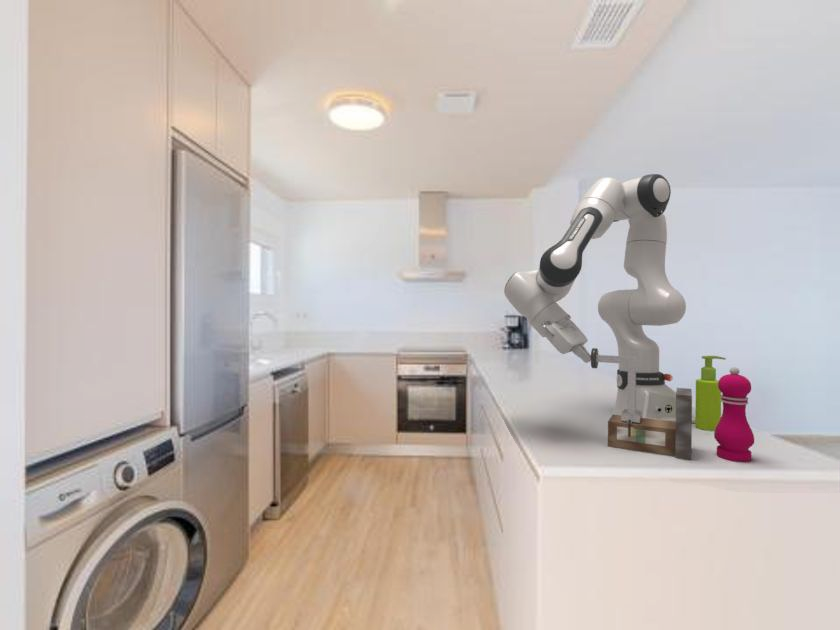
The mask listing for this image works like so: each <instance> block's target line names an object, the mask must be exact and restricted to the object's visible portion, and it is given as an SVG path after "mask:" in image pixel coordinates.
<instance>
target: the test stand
mask: <svg viewBox="0 0 840 630" xmlns="http://www.w3.org/2000/svg"><path fill="white" fill-rule="evenodd" d="M675 392H676V422H674V421H665V420H656V419H648V418H642V419H641V421H640V423H637V422H632V423H631V427H634V436H631V437H628V421H621V415H613V414H612V415H611V416H610V417H609V419H608V420H607V447H611V448H617V449H625V450H630V451H631V450H632V451H637V452H643V453H651V454H655V455H656V454H657V455H663V456H671V457H675V459H681V460H687V461H692V444H693V443H692V439H693V437H692V436H693V435H692V433H693V430H692V429H693V428H692V427H693V423H692V416H693V393H692V388H685V387H676V390H675Z"/></svg>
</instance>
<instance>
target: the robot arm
mask: <svg viewBox="0 0 840 630" xmlns="http://www.w3.org/2000/svg"><path fill="white" fill-rule="evenodd" d="M671 190H672V189H671V185H670V183H669V181H668V180H667V178H665V176H663V175H662V174H660V173H659V174H658V173H650V174H645V175H643V176H640V177H636V178H633V179H629V180H626V181H624V182H623V183H622V182H621V181H620V180H618V179H616V178H614V177H607V176H606V177H601V178H600V179H598V180H596V181H595V182H594V183H593V184H592V185H591V186H590V188H589V189H588V190H587V191H586V192H585V194H584V195H583V196H582V197H581V199H580V200H579V202H578V204H577V205H576V207H575V209H574V211H573V214H572V216H571V220H570V222H569V225H570V226H569V227H568V229H567V230H566V232H565V234H564V235H563V237H562V238H561V239H560V241H558V242H557V243H556V244H554V245H552V246H551V247H549V248H548V249H547V250H546V251H544V253H543V254H542V256H541V257H540V261H539V266H538V267H539V268H537V269H535V270H528V271H521V270H518V271H515V272H514V273H513V274H512V275H510V277H509V279H508V280H507V281H506V283H505V287H504V289H503V290H504V292H503V293H504V296H505V298H506V299H507V300H508V302H509V303H510V304H511V306H512V307H513V308H514V309H515V310H516V311H517V312H518V313H519V314H520V315H522V316H523V317H525V318H526V320H527V321H528V324H529V325H531V327H532V328H533V329H534V330H535V331H536V332H537V333H538V334H539V335H540V336H541V337H542V338H546V340H547V341H549V342H550V344H551V345H552V346H553V347H554V348H555V349H556V350H557V352H559V353H560V354H561V355H566V354H568V353H573V354H574V355H575V356H576V357H578V358H579V359H581V360H582V361H583V362H584V363H585V364H588V363H591V353H589V350H587V348H586V347H585V346H584V345H586V343H588V338H587V336H586V335H585V333H583V331H582V330H581V329H580V328H579V327H578V325H576V323H574V321H572V317H571V315H570V314H568V313H567V311H566V310H565V309H563V307H561V306H560V304H558V303H557V302H559V301H560V300H562V299H563V298H565V297H566V296H567V295H569V293H570V291H571V289H572V287H573V285H574V283H575V280H576V279H577V277H578V276H579V275H580V272H581V271H582V265H583V253H584V252H585V250H586V248H587V246H588V245H589V243H590V241H591V240H596V239H599V238H602V236H604V234H605V233H606V232H607V231H608V230H609V228H610V227H611V226H612V224H613V223H614V222H620V221H625V220H627V221H628V225H629V229H628V232H627V236H626V243H625V251H624V259H623V260H624V262H623V268H624V270H625V273H626V274H627V275H629V276H630V277H633V278H634V279H636V282H637V289H617V290H613V291H609V292H606V293H604V294H603V295H602V296H601V297H600V298H599V301H598V303H597V312H598V315H599V317H600V318H601V320H602V321H603V322H605V323H606V324H607V325H608V326H609V327H610V329H611V331H612V332H613V336H614V337H615V339H616V343H617V351H618V355H617V356H631V357H636V410H638V411H642V418H648V419H656V420H665V421H674V422H676V390H675V391H674V389H672V388H671V387H670V386H668V385H667V384H666V381H667V382H672V380H673V379H674V377H673V375H671V374H670V373H663V372H661V371H660V347H659V345H658V344H657V343H656V342H655V340H653V339H651V338H649V337H648V336H647V334H645V332H644V330H643V326H651V327H652V326H654V327H655V326H656V327H657V326H659V327H661V326H668V325H673V324H678V323H679V322H680V321H681V320H682V319H683V317H684V315H685V313H686V309H687V303H686V299H685V298H684V296H683V295H682V293H681V292H680V291H679V290H677V289H675V288H674V287H673V286H672V284H671V283H670V282H669V279H668V277H667V275H666V253H667V252H666V250H667V242H668V238H667V237H668V233H667V232H668V231H667V229H668V227H667V219H666V216H665V215H664V213H665V211H666V209H667V208H668V207H667V206H668V204H669V202H670V198H671V193H672V192H671ZM616 370H617V372H616V387H617V392H616V393H617V394H616V399H615V405H614V408H613V411H612V415H621V413H622V412H623V410H624V409H628V364H622V363H618V369H616ZM695 418H696V416H694V415H692V424H695Z"/></svg>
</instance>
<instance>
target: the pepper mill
mask: <svg viewBox="0 0 840 630" xmlns="http://www.w3.org/2000/svg"><path fill="white" fill-rule="evenodd" d="M718 381H719V382H718V388H719V390H720V391H721V403H722V412H721V419H720V421H719V423H718V424H717V426H716V429H715V431H714V439H715V440H716V442H717V444H719V445H717V446H716V455H717V456H718V457H720V458H722V459H724V460H728V461H733V462H740V463H742V462H744V463H745V462H751V460H752V451H751V450H750V448H751V447H753V446H754V444H755V435H754V432H753V429H752V428H751V426H750V424H749V422H748V419H747V416H746V415H747V414H746V412H747V411H746V409H747V405H748V404H749V397H747V396H748V395H749V394H750V392H751V391H752V383H751V382H750V380H749V379H748V378H747V377H746V376H743V375H741V374H740V369H739V368H738V367H736V366H733V367H731V368H730V369H729V373H728V374H724V375H722V376H721V377H720V378H719V380H718Z"/></svg>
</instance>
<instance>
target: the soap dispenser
mask: <svg viewBox="0 0 840 630" xmlns="http://www.w3.org/2000/svg"><path fill="white" fill-rule="evenodd" d="M701 359H704V366H703V367H701V368H700V369H701V371H700V375H701V376H700V378H699V379H698V378H697V379H696V380H695V417H696V418H695V423H694V424H695V428H697V429H699V430H703V431H709V432H715V429H716V426H717V424H718V423H719V421H720V419H721V417H722V402H721V395H722V392H721V391H720V390H719V388H718V382H719V380H717V375H716V374H717V369H716V368H715V367H713V360H715V359H716V360H723V361H724V360H726V359H727V358H725V357H723V356H719V355H702V356H701Z"/></svg>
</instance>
